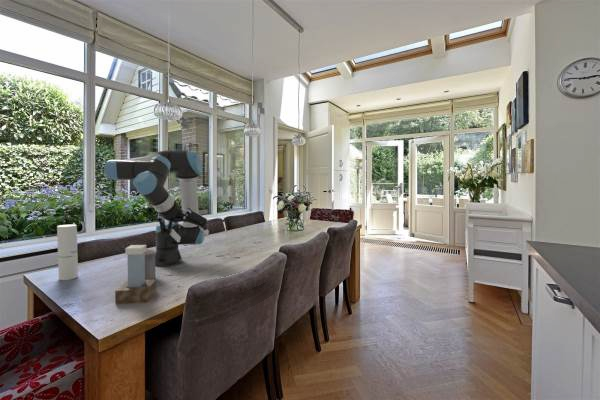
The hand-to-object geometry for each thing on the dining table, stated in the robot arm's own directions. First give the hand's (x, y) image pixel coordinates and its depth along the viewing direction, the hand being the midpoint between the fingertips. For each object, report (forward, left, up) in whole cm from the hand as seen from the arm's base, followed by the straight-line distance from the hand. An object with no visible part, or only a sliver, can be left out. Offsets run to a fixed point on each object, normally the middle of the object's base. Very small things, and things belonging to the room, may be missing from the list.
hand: (193, 236), depth 126 cm
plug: (-1, -22, -22) cm, 31 cm away
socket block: (-1, -22, -23) cm, 32 cm away
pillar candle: (-23, -14, -23) cm, 35 cm away
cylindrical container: (-49, -40, -23) cm, 67 cm away
